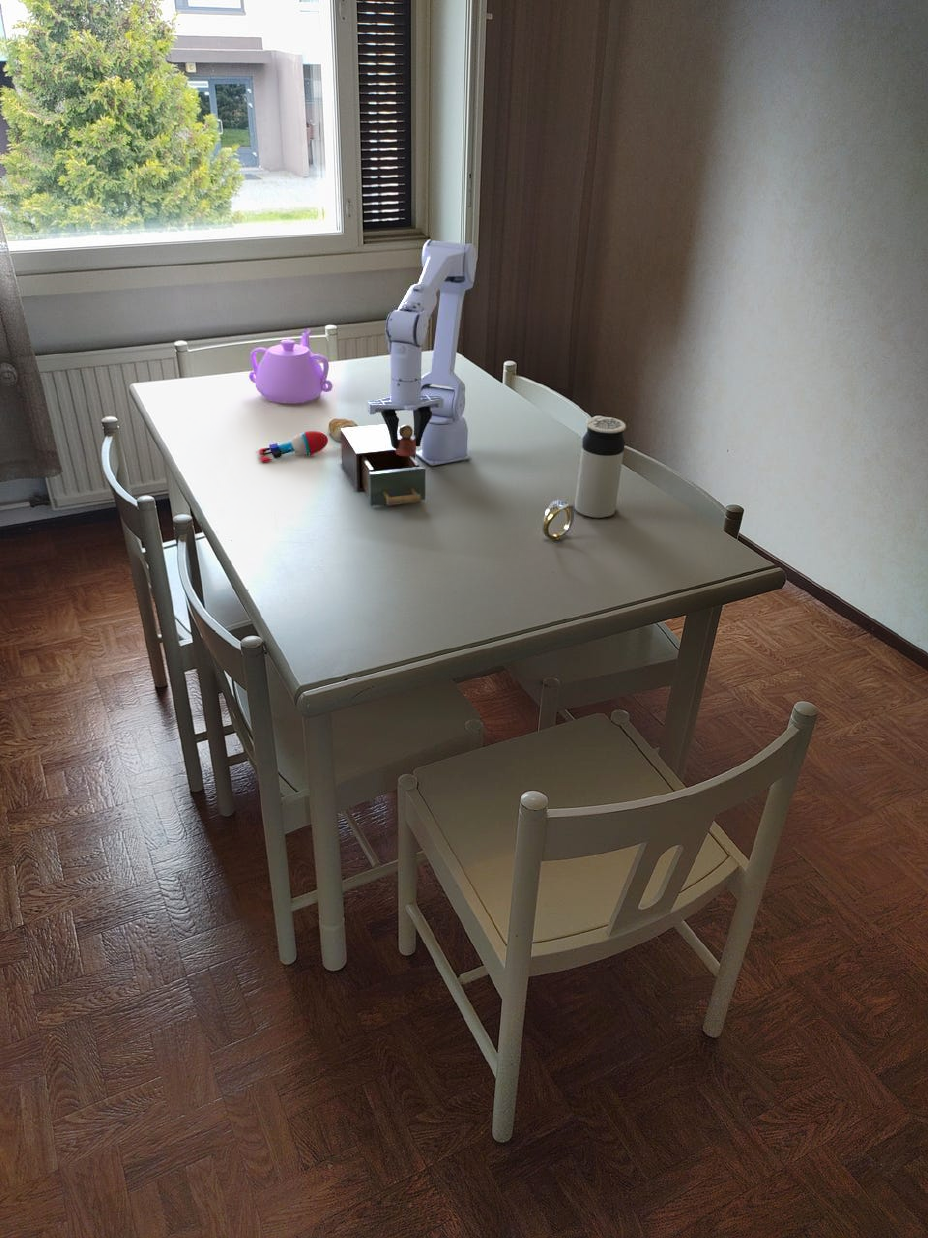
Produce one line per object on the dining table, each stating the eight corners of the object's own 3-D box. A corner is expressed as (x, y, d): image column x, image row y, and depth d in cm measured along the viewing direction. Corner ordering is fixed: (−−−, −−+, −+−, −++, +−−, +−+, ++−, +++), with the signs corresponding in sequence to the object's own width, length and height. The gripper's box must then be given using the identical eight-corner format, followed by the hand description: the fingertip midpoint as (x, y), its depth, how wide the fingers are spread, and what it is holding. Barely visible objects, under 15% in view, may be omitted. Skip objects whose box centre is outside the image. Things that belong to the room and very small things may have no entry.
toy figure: (264, 471, 193) (332, 454, 195) (258, 449, 190) (327, 432, 193) (260, 459, 199) (327, 443, 202) (254, 438, 197) (322, 422, 199)
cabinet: (415, 485, 186) (415, 447, 182) (357, 491, 183) (356, 453, 178) (396, 459, 197) (396, 423, 193) (341, 464, 194) (340, 428, 189)
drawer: (431, 509, 176) (432, 478, 172) (376, 516, 172) (376, 484, 169) (406, 473, 189) (406, 443, 186) (355, 479, 186) (354, 448, 182)
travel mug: (622, 511, 180) (635, 424, 170) (597, 522, 175) (609, 434, 166) (591, 497, 185) (602, 412, 175) (566, 508, 180) (576, 422, 170)
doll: (410, 447, 180) (410, 420, 177) (419, 454, 177) (420, 427, 174) (392, 450, 178) (392, 423, 175) (401, 457, 175) (401, 430, 172)
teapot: (350, 384, 237) (348, 331, 229) (320, 412, 219) (317, 355, 211) (271, 375, 241) (267, 322, 233) (236, 401, 223) (230, 345, 215)
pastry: (321, 429, 210) (321, 413, 208) (349, 425, 213) (348, 409, 211) (336, 443, 203) (336, 427, 201) (364, 439, 206) (364, 423, 204)
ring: (546, 547, 166) (550, 507, 162) (536, 539, 168) (539, 500, 164) (576, 538, 170) (581, 499, 165) (565, 531, 172) (569, 492, 167)
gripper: (373, 386, 164) (374, 456, 172) (449, 381, 169) (447, 449, 176) (364, 374, 170) (365, 443, 177) (437, 369, 174) (435, 436, 181)
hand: (405, 445), depth 177 cm, fingers closed on doll, 4 cm apart
